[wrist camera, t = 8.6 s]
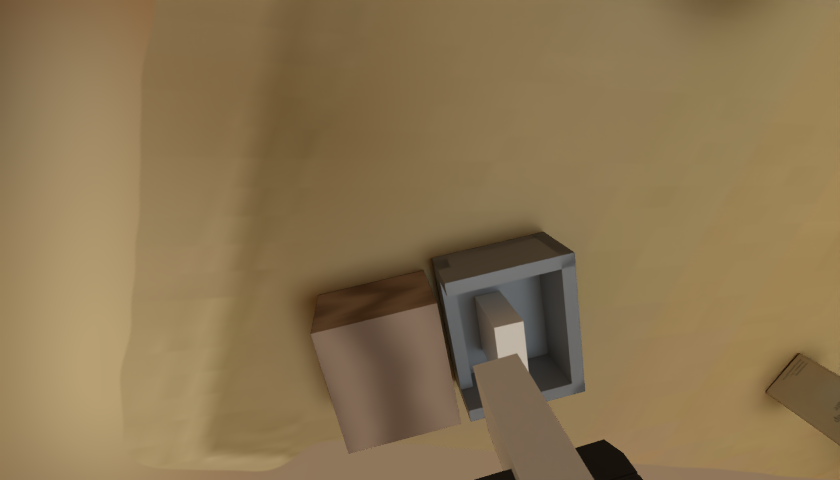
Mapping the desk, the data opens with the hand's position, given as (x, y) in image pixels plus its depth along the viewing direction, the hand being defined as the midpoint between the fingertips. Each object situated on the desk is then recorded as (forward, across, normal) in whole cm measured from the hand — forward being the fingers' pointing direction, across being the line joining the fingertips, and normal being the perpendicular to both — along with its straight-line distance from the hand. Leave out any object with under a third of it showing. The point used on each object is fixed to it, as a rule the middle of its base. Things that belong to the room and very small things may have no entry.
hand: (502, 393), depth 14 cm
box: (+25, +6, -12) cm, 29 cm away
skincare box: (+26, +39, -33) cm, 57 cm away
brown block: (+25, -6, -12) cm, 28 cm away
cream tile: (+21, +3, -13) cm, 25 cm away
